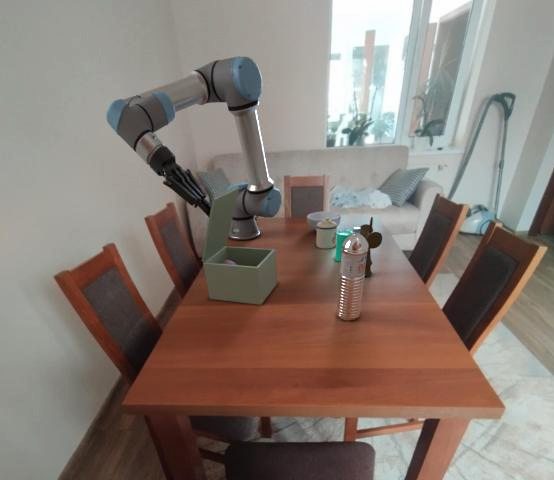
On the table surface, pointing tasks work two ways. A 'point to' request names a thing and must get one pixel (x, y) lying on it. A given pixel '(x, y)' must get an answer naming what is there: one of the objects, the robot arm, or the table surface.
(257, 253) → the chest
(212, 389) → the table surface
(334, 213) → the cereal bowl
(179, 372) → the table surface
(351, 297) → the water bottle
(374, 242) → the kendama
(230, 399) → the table surface
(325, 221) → the teacup with lid
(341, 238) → the candle
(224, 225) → the green box lid
